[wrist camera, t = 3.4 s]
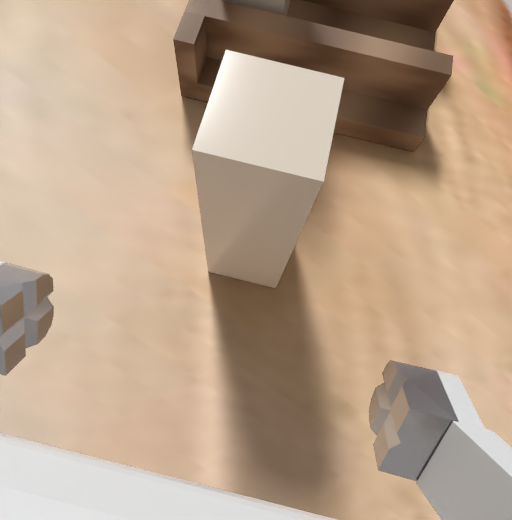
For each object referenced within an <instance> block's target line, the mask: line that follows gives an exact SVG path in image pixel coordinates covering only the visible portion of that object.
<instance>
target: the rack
mask: <svg viewBox="0 0 512 520" xmlns="http://www.w3.org/2000/svg"><path fill="white" fill-rule="evenodd" d="M453 1H454V0H290V6H289V9H288V13H287V16H284V15H280V14H276V13H272V12H268V11H263V10H259V9H255V8H251V7H247V6H243V5H238V4H234V3H230V2H226V1H222V0H189V2H188V4H187V7H186V9H185V12H184V14H183V17H182V19H181V22H180V24H179V27H178V29H177V32H176V34H175V37H174V39H173V40H174V47H175V54H176V61H177V68H178V75H179V82H180V89H181V96H185V97H189V98H193V99H197V100H201V101H205V102H208V101H209V98H210V95H211V92H212V89H213V86H214V83H215V80H216V77H217V75H218V72H219V69H220V66H221V63H222V60H223V57H224V54H225V51H226V50H230V51H234V52H238V53H242V54H246V55H251V56H255V57H259V58H263V59H267V60H271V61H276V62H280V63H284V64H288V65H292V66H296V67H301V68H305V69H309V70H313V71H317V72H321V73H326V74H330V75H334V76H338V77H342V78H344V83H343V88H342V93H341V98H340V103H339V108H338V113H337V118H336V123H335V128H334V133H338V134H342V135H346V136H350V137H354V138H358V139H363V140H367V141H371V142H375V143H379V144H383V145H387V146H392V147H396V148H400V149H404V150H408V151H412V152H414V151H415V149H416V148H417V147H418V146H419V144H420V143H421V142H422V140H423V139H424V135H425V125H426V116H427V109H428V108H429V107H430V105H431V104H432V102H433V101H434V99H435V98H436V97H437V95H438V94H439V92H440V91H441V89H442V88H443V86H444V85H445V84H446V82H447V81H448V79H449V78H450V76H451V74H452V62H453V56H451V55H447V54H443V53H439V52H435V51H433V50H434V41H435V32H436V30H437V29H438V27H439V25H440V23H441V22H442V20H443V18H444V16H445V15H446V13H447V11H448V9H449V8H450V6H451V4H452V2H453Z"/></svg>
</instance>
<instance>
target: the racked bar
mask: <svg viewBox="0 0 512 520" xmlns="http://www.w3.org/2000/svg"><path fill="white" fill-rule="evenodd" d="M222 1H226V2H230V3H234V4H238V5H243V6H247V7H251V8H255V9H259V10H263V11H268V12H272V13H276V14H280V15H284V16H287V13H288V9H289V6H290V0H222Z"/></svg>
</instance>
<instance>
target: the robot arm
mask: <svg viewBox="0 0 512 520" xmlns="http://www.w3.org/2000/svg"><path fill="white" fill-rule="evenodd" d="M52 292H53V278H52V277H51V276H50V275H49V274H47V273H43V272H39V271H36V270H32V269H28V268H25V267H21V266H17V265H14V264H10V263H9V264H8V263H6V262H2V261H0V374H2V375H7V374H8V373H9V372H10V371H11V370H12V369H13V368H14V367H15V366H16V365H17V364H18V363H19V362H20V361H21V360H22V359H23V358H24V357H25V356H26V351H25V348H28V347H31V346H33V345H36V344H38V343H39V342H40V341H41V340H42V339H43V338H44V337H45V336H46V334H47V332H48V330H49V328H50V327H51V324H52V320H53V313H54V307H53V305H52V304H51V302H50V301H49V299H48V298H47V297H48V296H49V295H50V294H51V293H52ZM382 375H383V379H384V383H383V384H381V385H379V386H378V387H376V388H375V390H374V393H373V395H372V398H371V402H370V407H369V422H370V428H371V429H372V431H373V432H374V433H375V434H376V435H377V438H376V440H375V442H374V444H373V446H374V451H375V456H376V462H377V467H378V470H379V471H382V472H386V473H389V474H393V475H396V476H400V477H403V478H407V479H411V480H414V481H417V482H416V484H417V485H418V486H419V488H420V489H421V491H422V492H423V494H424V495H425V496H426V498H427V499H428V501H429V502H430V504H431V505H432V506H433V508H434V509H435V511H436V512H437V514H438V515H439V516H440V518H441V519H442V520H512V447H510V446H509V445H508V444H507V443H506V442H505V441H503V440H502V439H501V438H500V437H499V436H498V435H497V434H495V433H494V432H493V431H491V430H487V429H485V428H484V426H483V424H482V422H481V420H480V418H479V416H478V414H477V412H476V410H475V408H474V406H473V404H472V402H471V400H470V398H469V396H468V394H467V392H466V390H465V388H464V386H463V384H462V382H461V380H460V378H459V377H457V376H456V375H455V374H451V373H446V372H442V371H437V370H431V369H426V368H422V367H418V366H413V365H409V364H405V363H401V362H396V361H392V360H390V361H389V362H388V363H387V365H386V366H385V368H384V371H383V373H382ZM0 520H338V519H334V518H330V517H326V516H322V515H318V514H314V513H311V512H307V511H303V510H299V509H295V508H291V507H287V506H284V505H280V504H276V503H272V502H268V501H264V500H260V499H257V498H253V497H249V496H245V495H241V494H237V493H233V492H230V491H226V490H222V489H218V488H214V487H210V486H206V485H202V484H199V483H195V482H191V481H187V480H183V479H179V478H175V477H171V476H167V475H163V474H160V473H156V472H152V471H148V470H144V469H140V468H136V467H132V466H128V465H124V464H121V463H117V462H113V461H109V460H105V459H101V458H97V457H93V456H89V455H85V454H82V453H78V452H74V451H70V450H66V449H62V448H58V447H54V446H50V445H47V444H43V443H39V442H35V441H31V440H27V439H23V438H19V437H15V436H12V435H8V434H4V433H0Z"/></svg>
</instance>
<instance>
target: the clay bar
mask: <svg viewBox="0 0 512 520" xmlns="http://www.w3.org/2000/svg"><path fill="white" fill-rule="evenodd" d="M343 83H344V78H342V77H338V76H334V75H330V74H326V73H321V72H317V71H313V70H309V69H305V68H301V67H296V66H292V65H288V64H284V63H280V62H276V61H271V60H267V59H263V58H259V57H255V56H251V55H246V54H242V53H238V52H234V51H230V50H226V51H225V54H224V57H223V60H222V63H221V66H220V69H219V72H218V75H217V77H216V80H215V83H214V86H213V89H212V92H211V95H210V98H209V101H208V104H207V107H206V110H205V113H204V116H203V119H202V122H201V124H200V127H199V130H198V133H197V136H196V139H195V142H194V145H193V148H192V154H193V162H194V169H195V177H196V184H197V192H198V199H199V207H200V214H201V222H202V229H203V237H204V244H205V252H206V259H207V267H208V272H211V273H215V274H219V275H223V276H227V277H231V278H235V279H239V280H243V281H248V282H252V283H256V284H260V285H264V286H268V287H272V288H276V287H277V284H278V282H279V280H280V278H281V276H282V273H283V271H284V269H285V267H286V264H287V262H288V260H289V258H290V256H291V253H292V251H293V249H294V247H295V244H296V242H297V240H298V238H299V236H300V233H301V231H302V229H303V227H304V224H305V222H306V220H307V218H308V215H309V213H310V211H311V209H312V207H313V204H314V202H315V200H316V198H317V195H318V193H319V191H320V189H321V187H322V184H323V182H324V178H325V173H326V168H327V163H328V158H329V153H330V148H331V143H332V138H333V133H334V128H335V123H336V118H337V113H338V108H339V103H340V98H341V93H342V88H343Z"/></svg>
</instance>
